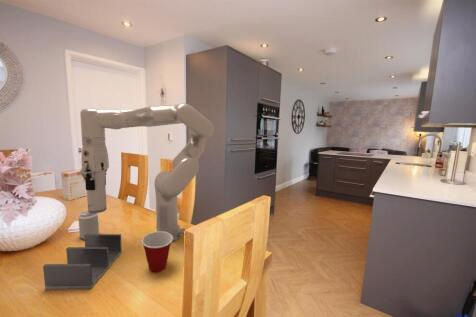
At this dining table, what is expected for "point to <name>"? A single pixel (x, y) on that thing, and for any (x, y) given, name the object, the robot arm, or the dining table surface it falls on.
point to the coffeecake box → (73, 185)
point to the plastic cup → (157, 249)
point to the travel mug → (97, 193)
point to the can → (88, 223)
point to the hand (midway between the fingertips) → (96, 187)
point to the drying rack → (84, 263)
